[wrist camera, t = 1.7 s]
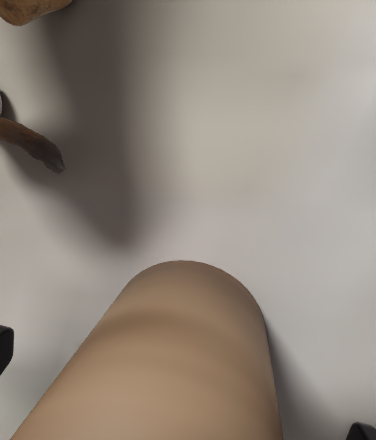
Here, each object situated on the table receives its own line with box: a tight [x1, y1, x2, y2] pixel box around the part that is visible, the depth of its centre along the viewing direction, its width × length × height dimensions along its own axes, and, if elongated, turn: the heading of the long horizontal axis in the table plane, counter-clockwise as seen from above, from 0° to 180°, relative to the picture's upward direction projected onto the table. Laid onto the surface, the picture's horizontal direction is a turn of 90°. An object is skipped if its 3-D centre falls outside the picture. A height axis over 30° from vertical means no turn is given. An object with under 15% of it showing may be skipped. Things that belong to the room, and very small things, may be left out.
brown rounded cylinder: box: [10, 260, 284, 440], centre depth 7 cm, size 5×5×6 cm
